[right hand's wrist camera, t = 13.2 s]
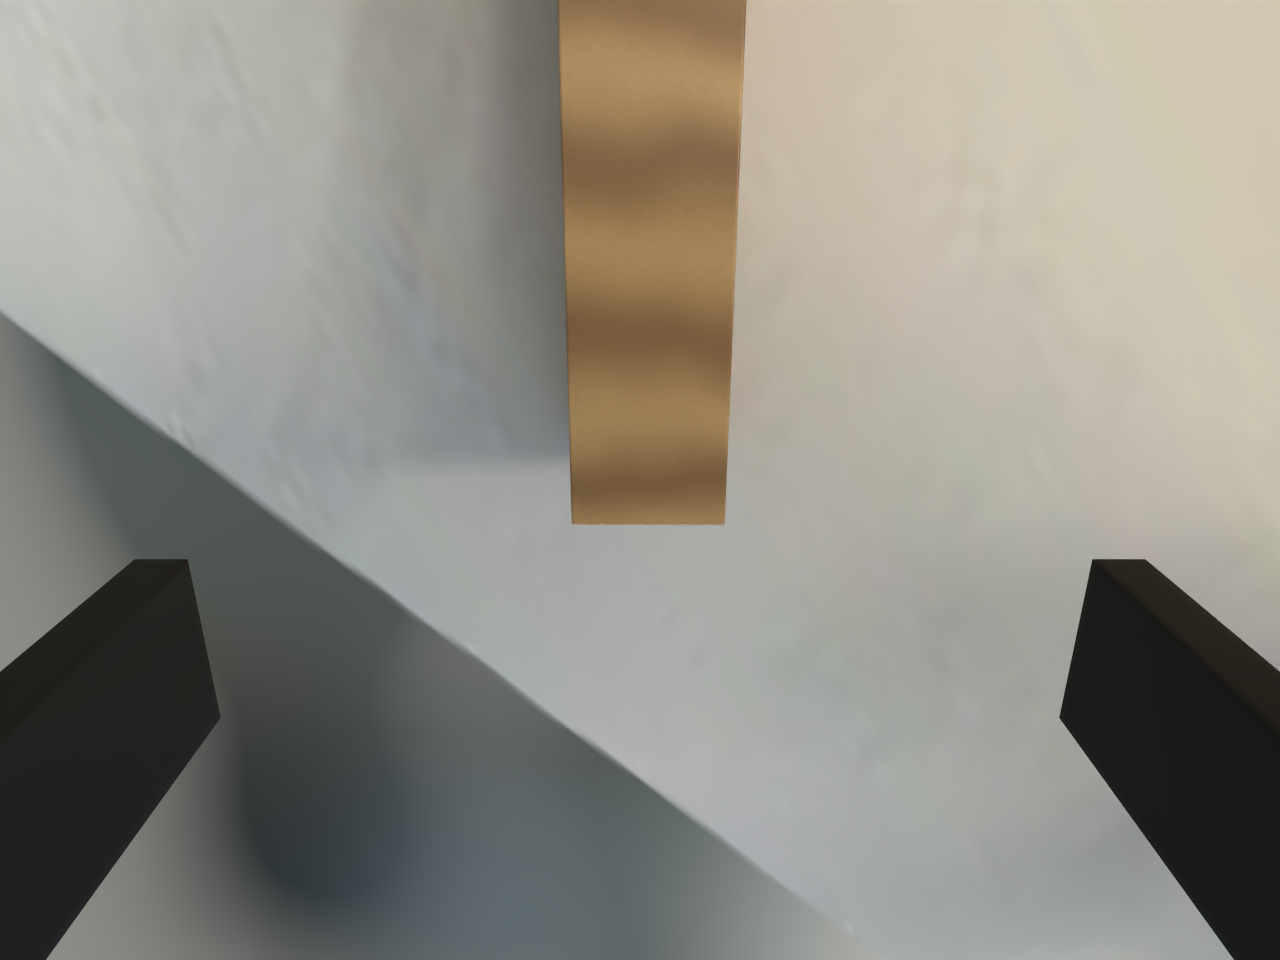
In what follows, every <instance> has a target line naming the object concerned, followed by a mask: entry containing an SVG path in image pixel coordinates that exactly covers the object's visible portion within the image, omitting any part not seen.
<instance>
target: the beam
mask: <svg viewBox="0 0 1280 960" xmlns="http://www.w3.org/2000/svg"><path fill="white" fill-rule="evenodd" d="M557 5H558V41H559V77H560V114H561V150H562V186H563V222H564V259H565V295H566V331H567V367H568V404H569V440H570V476H571V512H572V524H574V525H724V523H725V501H726V477H727V453H728V429H729V405H730V381H731V357H732V333H733V309H734V285H735V261H736V237H737V213H738V189H739V165H740V141H741V117H742V93H743V69H744V45H745V20H746V0H557Z"/></svg>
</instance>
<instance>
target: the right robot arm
mask: <svg viewBox="0 0 1280 960" xmlns="http://www.w3.org/2000/svg"><path fill="white" fill-rule="evenodd" d="M1059 718H1060V719H1061V721H1062V722H1063V723H1064V725H1065V726H1066V728H1067V729H1068V730H1069V732H1070V733H1071V734H1072V736H1073V737H1074V739H1075V740H1076V741H1077V743H1078V744H1079V746H1080V747H1081V748H1082V750H1083V751H1084V752H1085V754H1086V755H1087V757H1088V758H1089V759H1090V761H1091V762H1092V764H1093V765H1094V766H1095V768H1096V769H1097V770H1098V772H1099V773H1100V775H1101V776H1102V777H1103V779H1104V780H1105V782H1106V783H1107V784H1108V786H1109V787H1110V788H1111V790H1112V791H1113V793H1114V794H1115V795H1116V797H1117V798H1118V800H1119V801H1120V802H1121V804H1122V805H1123V806H1124V808H1125V809H1126V811H1127V812H1128V813H1129V815H1130V816H1131V818H1132V819H1133V820H1134V822H1135V823H1136V824H1137V826H1138V827H1139V829H1140V830H1141V831H1142V833H1143V834H1144V836H1145V837H1146V838H1147V840H1148V841H1149V842H1150V844H1151V845H1152V847H1153V848H1154V849H1155V851H1156V852H1157V854H1158V855H1159V856H1160V858H1161V859H1162V860H1163V862H1164V863H1165V865H1166V866H1167V867H1168V869H1169V870H1170V872H1171V873H1172V874H1173V876H1174V877H1175V878H1176V880H1177V881H1178V883H1179V884H1180V885H1181V887H1182V888H1183V890H1184V891H1185V892H1186V894H1187V895H1188V896H1189V898H1190V899H1191V901H1192V902H1193V903H1194V905H1195V906H1196V908H1197V909H1198V910H1199V912H1200V913H1201V914H1202V916H1203V917H1204V919H1205V920H1206V921H1207V923H1208V924H1209V926H1210V927H1211V928H1212V930H1213V931H1214V932H1215V934H1216V935H1217V937H1218V938H1219V939H1220V941H1221V942H1222V944H1223V945H1224V946H1225V948H1226V949H1227V950H1228V952H1229V953H1230V955H1231V956H1232V957H1233V959H1234V960H1280V672H1279V671H1278V670H1277V669H1276V668H1275V667H1273V666H1272V665H1271V664H1270V663H1269V662H1267V661H1266V660H1265V659H1264V658H1263V657H1261V656H1260V655H1259V654H1258V653H1257V652H1255V651H1254V650H1253V649H1252V648H1251V647H1249V646H1248V645H1247V644H1246V643H1245V642H1243V641H1242V640H1241V639H1240V638H1239V637H1237V636H1236V635H1235V634H1234V633H1233V632H1231V631H1230V630H1229V629H1228V628H1227V627H1226V626H1224V625H1223V624H1222V623H1221V622H1220V621H1218V620H1217V619H1216V618H1215V617H1214V616H1212V615H1211V614H1210V613H1209V612H1208V611H1206V610H1205V609H1204V608H1203V607H1202V606H1200V605H1199V604H1198V603H1197V602H1196V601H1194V600H1193V599H1192V598H1191V597H1190V596H1188V595H1187V594H1186V593H1185V592H1184V591H1182V590H1181V589H1180V588H1179V587H1178V586H1176V585H1175V584H1174V583H1173V582H1172V581H1171V580H1169V579H1168V578H1167V577H1166V576H1165V575H1163V574H1162V573H1161V572H1160V571H1159V570H1157V569H1156V568H1155V567H1154V566H1153V565H1151V564H1150V563H1149V562H1148V561H1147V560H1145V559H1092V564H1091V569H1090V574H1089V579H1088V583H1087V588H1086V593H1085V598H1084V602H1083V607H1082V612H1081V617H1080V622H1079V626H1078V631H1077V636H1076V641H1075V646H1074V650H1073V655H1072V660H1071V665H1070V670H1069V674H1068V679H1067V684H1066V689H1065V694H1064V698H1063V703H1062V708H1061V713H1060V717H1059ZM219 719H220V713H219V708H218V703H217V698H216V694H215V689H214V684H213V679H212V674H211V670H210V665H209V660H208V655H207V651H206V646H205V641H204V636H203V631H202V627H201V622H200V617H199V612H198V607H197V603H196V598H195V593H194V588H193V583H192V579H191V574H190V569H189V564H188V560H187V559H135V560H133V561H132V562H131V563H130V564H129V565H127V566H126V567H125V568H124V569H123V570H121V571H120V572H119V573H118V574H117V575H115V576H114V577H113V578H112V579H111V580H109V581H108V582H107V583H106V584H105V585H104V586H102V587H101V588H100V589H99V590H98V591H96V592H95V593H94V594H93V595H92V596H90V597H89V598H88V599H87V600H86V601H84V602H83V603H82V604H81V605H80V606H78V607H77V608H76V609H75V610H74V611H72V612H71V613H70V614H69V615H68V616H66V617H65V618H64V619H63V620H62V621H60V622H59V623H58V624H57V625H56V626H54V627H53V628H52V629H51V630H50V631H49V632H47V633H46V634H45V635H44V636H43V637H41V638H40V639H39V640H38V641H37V642H35V643H34V644H33V645H32V646H31V647H29V648H28V649H27V650H26V651H25V652H23V653H22V654H21V655H20V656H19V657H17V658H16V659H15V660H14V661H13V662H12V663H10V664H9V665H8V666H7V667H5V668H4V669H3V670H2V671H1V672H0V960H46V959H47V957H48V956H49V955H50V953H51V952H52V950H53V949H54V948H55V946H56V945H57V944H58V942H59V941H60V939H61V938H62V937H63V935H64V934H65V932H66V931H67V930H68V928H69V927H70V925H71V924H72V923H73V921H74V920H75V919H76V917H77V916H78V914H79V913H80V912H81V910H82V909H83V908H84V906H85V905H86V903H87V902H88V901H89V899H90V898H91V896H92V895H93V894H94V892H95V891H96V890H97V888H98V887H99V885H100V884H101V883H102V881H103V880H104V878H105V877H106V876H107V874H108V873H109V872H110V870H111V869H112V867H113V866H114V865H115V863H116V862H117V860H118V859H119V858H120V856H121V855H122V854H123V852H124V851H125V849H126V848H127V847H128V845H129V844H130V842H131V841H132V840H133V838H134V837H135V835H136V834H137V833H138V831H139V830H140V829H141V827H142V826H143V824H144V823H145V822H146V820H147V819H148V817H149V816H150V815H151V813H152V812H153V811H154V809H155V808H156V806H157V805H158V804H159V802H160V801H161V800H162V798H163V797H164V795H165V794H166V793H167V791H168V790H169V788H170V787H171V786H172V784H173V783H174V781H175V780H176V779H177V777H178V776H179V775H180V773H181V772H182V770H183V769H184V768H185V766H186V765H187V763H188V762H189V761H190V759H191V758H192V757H193V755H194V754H195V752H196V751H197V750H198V748H199V747H200V746H201V744H202V743H203V741H204V740H205V739H206V737H207V736H208V734H209V733H210V732H211V730H212V729H213V727H214V726H215V725H216V723H217V722H218V721H219Z"/></svg>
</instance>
